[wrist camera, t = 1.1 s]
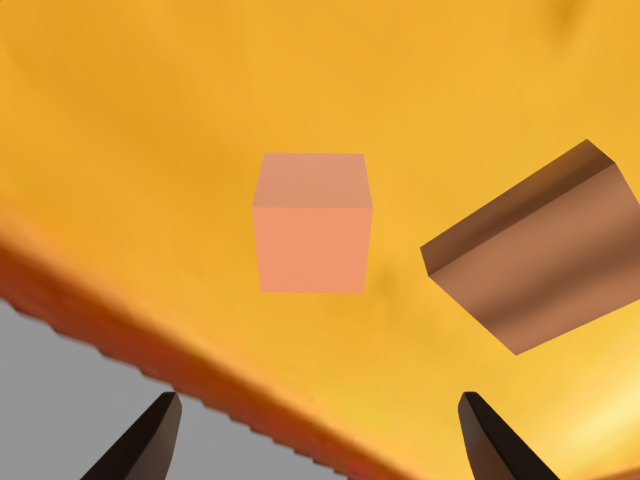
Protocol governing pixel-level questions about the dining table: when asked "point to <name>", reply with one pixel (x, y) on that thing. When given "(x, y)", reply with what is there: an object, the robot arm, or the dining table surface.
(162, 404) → the robot arm
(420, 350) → the dining table surface
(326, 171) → the cube
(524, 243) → the base
